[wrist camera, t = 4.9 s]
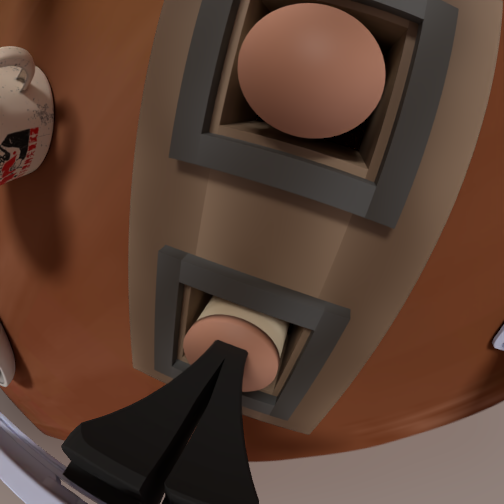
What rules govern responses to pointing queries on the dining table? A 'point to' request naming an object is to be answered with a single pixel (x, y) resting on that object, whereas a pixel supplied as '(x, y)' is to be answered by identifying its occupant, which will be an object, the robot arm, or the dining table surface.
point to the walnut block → (297, 192)
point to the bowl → (6, 359)
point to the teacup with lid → (23, 114)
